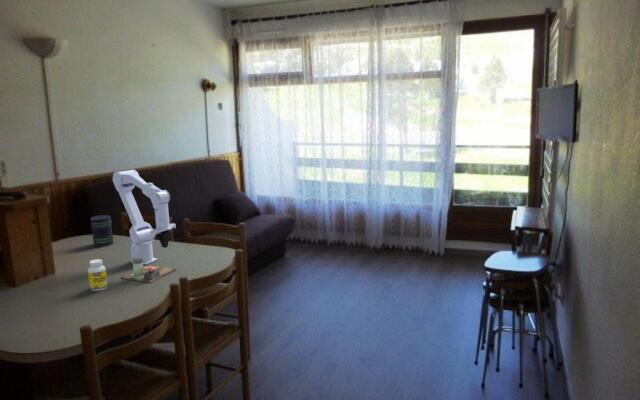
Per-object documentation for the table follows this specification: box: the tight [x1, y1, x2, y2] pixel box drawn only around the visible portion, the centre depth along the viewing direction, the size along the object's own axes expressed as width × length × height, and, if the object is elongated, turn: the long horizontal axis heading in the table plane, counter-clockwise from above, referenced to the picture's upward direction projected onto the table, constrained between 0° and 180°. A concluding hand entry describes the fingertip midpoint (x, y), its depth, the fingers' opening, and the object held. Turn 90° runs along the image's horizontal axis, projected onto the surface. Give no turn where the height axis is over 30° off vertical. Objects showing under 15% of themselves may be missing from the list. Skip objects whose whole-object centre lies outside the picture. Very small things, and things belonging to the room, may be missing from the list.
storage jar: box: [90, 214, 114, 248], centre depth 249 cm, size 10×10×15 cm
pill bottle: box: [87, 258, 108, 292], centre depth 188 cm, size 6×6×12 cm
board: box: [120, 264, 177, 283], centre depth 204 cm, size 16×16×3 cm
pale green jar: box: [132, 258, 144, 277], centre depth 201 cm, size 4×4×7 cm
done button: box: [147, 267, 155, 272], centre depth 198 cm, size 3×3×2 cm
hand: (164, 247), depth 211 cm, fingers closed
